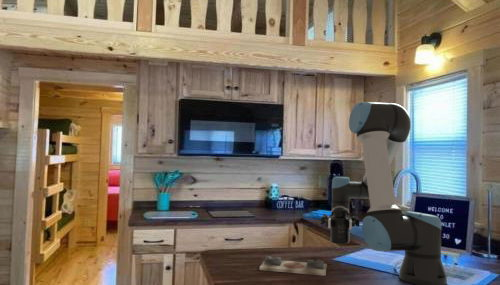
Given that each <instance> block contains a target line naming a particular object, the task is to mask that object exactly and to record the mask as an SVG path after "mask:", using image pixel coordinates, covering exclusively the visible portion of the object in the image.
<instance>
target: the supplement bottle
mask: <svg viewBox="0 0 500 285" xmlns="http://www.w3.org/2000/svg"><path fill="white" fill-rule="evenodd" d="M333 214H334V216H333V217H332V218H331V227H330V242H331V243H333V244H339V245H340V244H343V245H345V244H349V243H350V238H351V236H350V229H349V218H348V217H347V216H346V215H347V210H346V209H334V213H333Z"/></svg>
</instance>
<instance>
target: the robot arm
mask: <svg viewBox="0 0 500 285" xmlns="http://www.w3.org/2000/svg"><path fill="white" fill-rule="evenodd" d="M348 117H349V119H348V128H349V131H350V132H351V133H353V134H356V139H357V141H358V142H360V143H361V145H362V153H363V154H362V155H363V161H364V162H363V163H364V169H365V173H364V175H363V178H362V180H360V181H355V180H351V179H350V177H348V176H334V177H333V178H332V181H331V212H330V214H329V215H328V214H326V213H323V214H322V216H321V217H320V224H321V225H325V227H326V228H328V229H331V218H332V217H333V216H334V214H333V213H334V209H346V210H347V215H346V216H347V217H348V218H349V229H350V230H352V228H353V227H360V218H359V216H358V215H353V216H351V215H350V201H351V200H350V199H369V206H370V207H369V208H368V210H367V211H366V216H365V217H364V218H363V220H362V222H361V223H362V225H361V232H362V235H363V239H364V241H365V243H366V245H368V247H369V248H370V249H372V250H373V251H377V252H386V253H387V252H398V251H399V252H400V251H402V252H403V251H404V257H403V260H402V262H401V265H400V268H399V270H398V274H399V276H398V277H399V278H400V280H402V281H404V282H406V283H409V284H412V285H447V284H448V280H447V276H448V275H447V274H446V271H445V267H444V265H443V261H442V230H443V228H442V220H441V218H440V217H439V216H437V215H434V214H430V213H429V214H428V213H423V212H417V211H408V210H406V211H405V213H404V215H403V211H402V209H401V208H400V207H399V206H398V205H397V202H396V195H395V190H394V184H393V177H392V171H391V170H392V169H391V164H392V162H393V160H394V158H395V156H396V154H397V152H398V150H399V149H400V147H401V144H402V143H405V142H406V140H407V139H408V137H409V134H410V133H411V132H410V131H411V118H410V115H409V112H408V111H407V110H406V108H404V107H403V106H401V105H400V104H397V103H393V102H389V103H388V102H371V101H366V102H365V101H364V102H363V101H360V102H358V103H356V104H354V106H353V107H352V109H351V111H350V114H349V116H348Z"/></svg>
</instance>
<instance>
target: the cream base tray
mask: <svg viewBox="0 0 500 285" xmlns="http://www.w3.org/2000/svg"><path fill="white" fill-rule="evenodd" d="M282 259H283V258H282V257H280V256H274V257H273V256H269V255H266V256H265V257H264V260H263V262H262V263H261V265H260V266H259V269H258V270H259V271H265V272H267V271H268V272H281V273H290V274H291V273H293V274H299V275H301V274H302V275H311V276H312V275H314V276H322V277H324V276H327V268H328V264H327V263H325V262H324V260H321V259H320V260H319V259H318V260H314V259H307V261H306V262H305V261H293V260H282Z"/></svg>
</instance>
